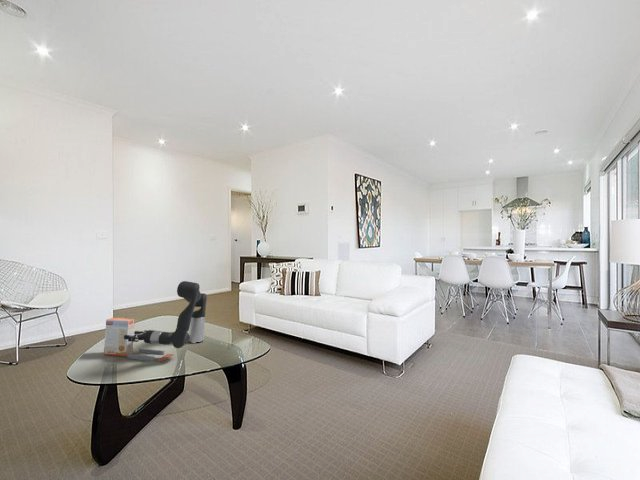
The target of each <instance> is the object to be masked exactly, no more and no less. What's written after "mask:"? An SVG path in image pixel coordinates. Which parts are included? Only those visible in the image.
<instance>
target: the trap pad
mask: <svg viewBox="0 0 640 480" xmlns="http://www.w3.org/2000/svg"><path fill="white" fill-rule="evenodd" d="M174 355H175V354H174V353H166V354H164V355H162V357H159V358H157V359H156V360H155V361H156V362H165V361H166V360H168V359H169V358H171V357H173V356H174Z"/></svg>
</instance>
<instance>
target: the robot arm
mask: <svg viewBox="0 0 640 480" xmlns="http://www.w3.org/2000/svg"><path fill="white" fill-rule="evenodd" d="M200 287H201V286H200V284H199V283H197V282H192V281H186V280H184V281H183V280H182V281H181V282H180V283H179V284H178V286H177V289H176V294H177V296H178V297H179V298H183V299H184V300H185V301H186V302H188V305H187V306H185V308H184V309H183V310H182V311H181V312H180V313H179V315H178V318H177V323H176V329H175V331H171V332H169V331H162V330H154V329H148V330H140V331H139V330H134V335H124V339H128V341H131V342H133V343H138V342H139V341H141V342H142V341H143V342H144V343H145V344H150V345H165V346H166V345H172V346H173V347H174V348H175V349H181V348H183V347H184V346H185V345H186V344H187V343H190V342H191V343H190V344H197V343H196V342H200V341H202V340H203V339H205V327H206V326H205V325H206V324H205V323H206V309H207V307H206V306H207V302H208V301H207V300H208V299H207V298H208V297H207V295H208V294H206V293H203V292H202V293H201V291H200ZM195 308H199V309H197V310H195Z"/></svg>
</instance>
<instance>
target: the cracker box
mask: <svg viewBox="0 0 640 480" xmlns="http://www.w3.org/2000/svg"><path fill="white" fill-rule="evenodd" d="M104 332H105V333H104V348H103V355H104V356H115V357H127V354H133V349H134V348H133V347H134V342H131V341H128V339H124V335H134V332H135V319H134V318H123V317H110V318H108V319H106V320H105V331H104Z"/></svg>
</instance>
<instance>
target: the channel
mask: <svg viewBox="0 0 640 480" xmlns="http://www.w3.org/2000/svg"><path fill="white" fill-rule="evenodd" d="M138 352H139V353H145V354H154V355H162V356H165V352H166V351H165V350H161V349H159V350H158V349H149V348H139V349H138ZM126 359H135V360H143V361H154V360H155V356H153V355H152V356H151V355H144V354H143V355H140V354H133V353H132V354H127V356H126Z"/></svg>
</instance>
